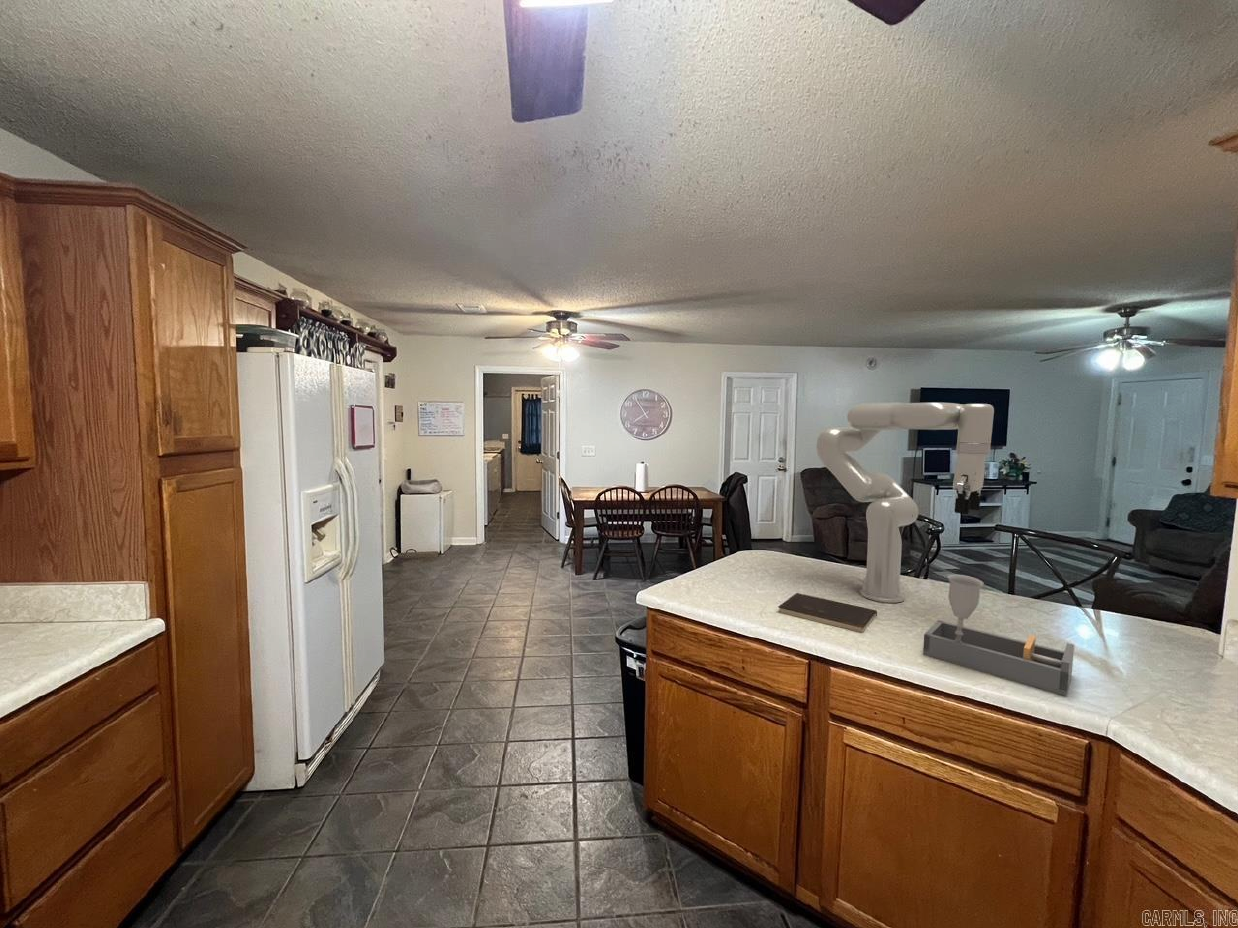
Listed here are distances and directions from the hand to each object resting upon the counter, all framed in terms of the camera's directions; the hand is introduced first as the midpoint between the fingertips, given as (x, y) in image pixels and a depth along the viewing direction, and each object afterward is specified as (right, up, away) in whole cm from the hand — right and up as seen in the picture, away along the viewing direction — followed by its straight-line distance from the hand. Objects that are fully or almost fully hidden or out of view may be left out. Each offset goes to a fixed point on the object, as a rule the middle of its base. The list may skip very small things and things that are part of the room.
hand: (966, 511), depth 140 cm
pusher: (-3, -32, -29) cm, 44 cm away
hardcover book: (-36, -31, +7) cm, 48 cm away
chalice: (-16, -32, -19) cm, 41 cm away
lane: (-9, -33, -23) cm, 41 cm away
